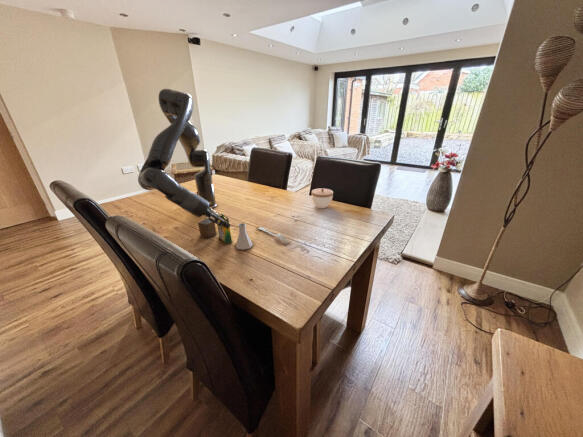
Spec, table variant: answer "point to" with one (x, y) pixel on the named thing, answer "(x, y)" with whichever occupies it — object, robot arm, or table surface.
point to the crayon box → (224, 231)
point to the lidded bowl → (322, 197)
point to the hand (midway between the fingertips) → (226, 223)
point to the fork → (274, 234)
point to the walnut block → (207, 228)
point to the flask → (243, 238)
